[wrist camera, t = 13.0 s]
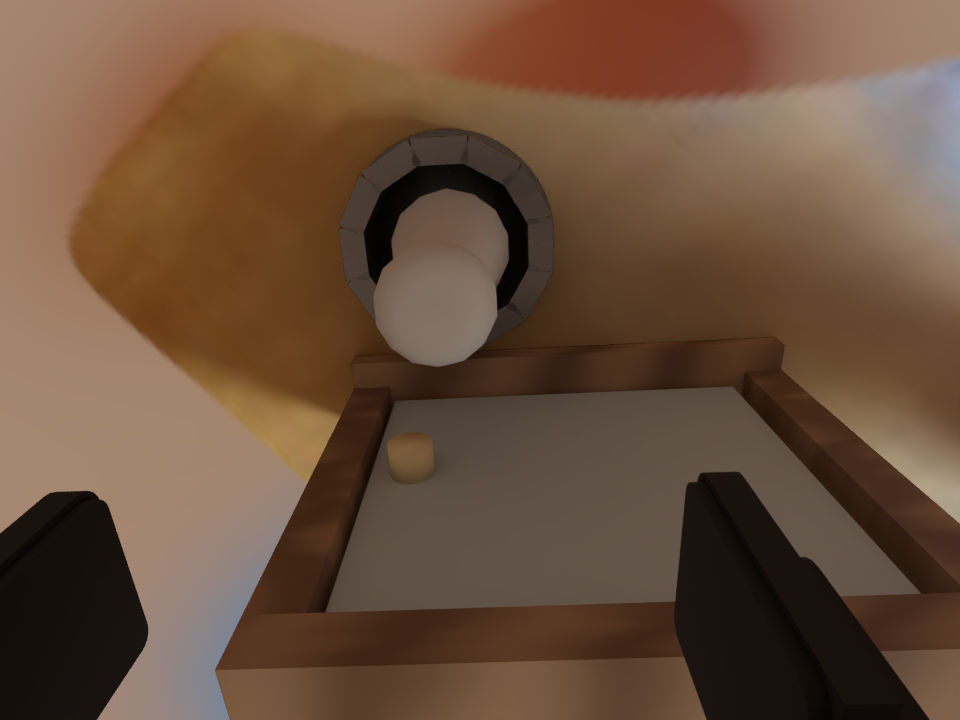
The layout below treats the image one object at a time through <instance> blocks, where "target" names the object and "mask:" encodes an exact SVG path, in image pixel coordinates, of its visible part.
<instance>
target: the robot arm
mask: <svg viewBox="0 0 960 720" xmlns="http://www.w3.org/2000/svg"><path fill="white" fill-rule="evenodd" d="M674 623H675V630H676V634H677V638H678V641H679V644H680V647H681V650H682V652H683V655H684V658H685V661H686V664H687V666H688V669H689V672H690V675H691V678H692V680H693V683H694V686H695V689H696V692H697V694H698V697H699V700H700V703H701V706H702V709H703V711H704V714H705V717H706V720H930V719H929V718H928V716H927V715H926V714H925V712H924V711H923V710H922V708H921V707H920V705H919V704H918V703H917V701H916V700H915V699H914V697H913V696H912V694H911V693H910V692H909V690H908V689H907V688H906V686H905V685H904V684H903V682H902V681H901V679H900V678H899V677H898V675H897V674H896V673H895V671H894V670H893V668H892V667H891V666H890V664H889V663H888V662H887V660H886V659H885V657H884V656H883V655H882V653H881V652H880V651H879V649H878V648H877V646H876V645H875V644H874V642H873V641H872V640H871V638H870V637H869V635H868V634H867V633H866V631H865V630H864V629H863V627H862V626H861V624H860V623H859V622H858V620H857V619H856V618H855V616H854V615H853V613H852V612H851V611H850V609H849V608H848V607H847V605H846V604H845V602H844V601H843V600H842V598H841V597H840V596H839V594H838V593H837V591H836V590H835V589H834V587H833V586H832V585H831V583H830V582H829V580H828V579H827V578H826V576H825V575H824V574H823V572H822V571H821V570H820V568H819V567H818V566H817V565H816V564H815V563H814V562H813V561H812V560H811V559H809V558H807V557H800V556H799V555H798V553H797V552H796V550H795V549H794V548H793V546H792V545H791V543H790V542H789V540H788V539H787V538H786V536H785V535H784V533H783V532H782V530H781V529H780V528H779V526H778V525H777V523H776V522H775V520H774V519H773V518H772V516H771V515H770V513H769V512H768V511H767V509H766V508H765V506H764V505H763V503H762V502H761V501H760V499H759V498H758V496H757V495H756V493H755V492H754V491H753V489H752V488H751V486H750V485H749V483H748V482H747V481H746V479H745V478H744V476H743V475H742V474H741V473H740V472H703V473H701V474H699V477H698V480H697V482H689V483H688V484H687V486H686V492H685V503H684V514H683V524H682V535H681V545H680V556H679V567H678V577H677V588H676V599H675V609H674ZM147 637H148V624H147V621H146V618H145V615H144V612H143V609H142V606H141V603H140V600H139V597H138V594H137V591H136V588H135V585H134V582H133V579H132V576H131V573H130V570H129V567H128V564H127V561H126V558H125V555H124V552H123V549H122V546H121V543H120V540H119V537H118V534H117V532H116V528H115V525H114V522H113V519H112V516H111V513H110V510H109V507H108V505H107V504H106V503H105V502H104V501H103V500H99V498H98V496H97V495H96V494H94V493H93V492H90V491H71V492H54V493H49V494H48V495H46V496H45V497H43V498H42V499H41V500H40V501H39V502H37V503H36V504H35V505H34V506H33V507H31V508H30V509H29V510H28V511H27V512H26V513H24V514H23V515H22V516H21V517H20V518H18V519H17V520H16V521H15V522H13V523H12V524H11V525H10V526H9V527H8V528H6V529H5V530H4V531H3V532H2V533H0V720H97V719H98V717H99V715H100V714H101V712H102V711H103V709H104V708H105V706H106V705H107V703H108V702H109V700H110V699H111V697H112V696H113V694H114V693H115V691H116V690H117V688H118V687H119V685H120V684H121V682H122V681H123V679H124V678H125V676H126V675H127V673H128V672H129V670H130V669H131V667H132V665H133V664H134V662H135V661H136V659H137V658H138V656H139V655H140V653H141V652H142V650H143V648H144V647H145V644H146V641H147Z"/></svg>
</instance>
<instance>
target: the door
mask: <svg viewBox="0 0 960 720" xmlns="http://www.w3.org/2000/svg"><path fill="white" fill-rule="evenodd" d="M703 472H740V473H741V474H742V475H743V476H744V478H745V479H746V481H747V482H748V483H749V485H750V486H751V488H752V489H753V491H754V492H755V493H756V495H757V496H758V498H759V499H760V501H761V502H762V503H763V505H764V506H765V508H766V509H767V511H768V512H769V513H770V515H771V516H772V518H773V519H774V520H775V522H776V523H777V525H778V526H779V528H780V529H781V530H782V532H783V533H784V535H785V536H786V538H787V539H788V540H789V542H790V543H791V545H792V546H793V548H794V549H795V550H796V552H797V553H798V555H799V556H800V557H807V558H809V559H811V560H812V561H813V562H814V563H815V564H816V565H817V566H818V567H819V568H820V570H821V571H822V572H823V574H824V575H825V576H826V578H827V579H828V580H829V582H830V583H831V585H832V586H833V587H834V589H835V590H836V591H837V593H838V594H839V596H866V595H898V594H921V593H920V592H919V591H918V590H917V589H916V587H915V586H914V585H913V584H912V583H911V582H910V581H909V580H908V579H907V578H906V576H905V575H904V574H903V573H902V572H901V571H900V570H899V569H898V568H897V567H896V565H895V564H894V563H893V562H892V561H891V560H890V559H889V558H888V557H887V556H886V554H885V553H884V552H883V551H882V550H881V549H880V548H879V547H878V546H877V545H876V543H875V542H874V541H873V540H872V539H871V538H870V537H869V536H868V535H867V534H866V532H865V531H864V530H863V529H862V528H861V527H860V526H859V525H858V524H857V523H856V522H855V520H854V519H853V518H852V517H851V516H850V515H849V514H848V513H847V512H846V511H845V509H844V508H843V507H842V506H841V505H840V504H839V503H838V502H837V501H836V500H835V498H834V497H833V496H832V495H831V494H830V493H829V492H828V491H827V490H826V489H825V487H824V486H823V485H822V484H821V483H820V482H819V481H818V480H817V479H816V478H815V476H814V475H813V474H812V473H811V472H810V471H809V470H808V469H807V468H806V467H805V465H804V464H803V463H802V462H801V461H800V460H799V459H798V458H797V457H796V456H795V454H794V453H793V452H792V451H791V450H790V449H789V448H788V447H787V446H786V445H785V443H784V442H783V441H782V440H781V439H780V438H779V437H778V436H777V435H776V434H775V432H774V431H773V430H772V429H771V428H770V427H769V426H768V425H767V424H766V423H765V422H764V420H763V419H762V418H761V417H760V416H759V415H758V414H757V413H756V412H755V411H754V409H753V408H752V407H751V406H750V405H749V404H748V403H747V402H746V401H745V400H744V398H743V397H742V396H741V395H740V394H739V393H738V392H737V391H736V390H735V389H734V387H733V386H732V387H709V388H685V389H662V390H639V391H615V392H592V393H569V394H545V395H522V396H499V397H476V398H452V399H429V400H406V401H395V403H394V406H393V409H392V412H391V415H390V418H389V421H388V424H387V427H386V430H385V433H384V436H383V440H382V443H381V446H380V449H379V452H378V455H377V458H376V461H375V464H374V467H373V470H372V473H371V476H370V479H369V482H368V485H367V488H366V491H365V494H364V497H363V500H362V503H361V506H360V509H359V512H358V515H357V518H356V521H355V524H354V527H353V530H352V533H351V537H350V540H349V543H348V546H347V549H346V552H345V555H344V558H343V561H342V564H341V567H340V570H339V573H338V576H337V579H336V582H335V585H334V588H333V591H332V594H331V597H330V600H329V603H328V606H327V609H326V612H325V613H327V612H359V611H390V610H422V609H454V608H486V607H517V606H549V605H581V604H613V603H644V602H675V599H676V588H677V577H678V567H679V556H680V545H681V535H682V524H683V514H684V503H685V492H686V486H687V484H688V483H689V482H697V480H698V477H699V474H701V473H703Z"/></svg>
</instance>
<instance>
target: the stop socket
mask: <svg viewBox="0 0 960 720" xmlns="http://www.w3.org/2000/svg"><path fill="white" fill-rule="evenodd" d="M362 173H363V174H361V175H359V177H358V180H357V182H356V185H355V187H354V190H353V192H352V194H351V197H350V199H349V202H348V204H347V206H346V209H345V211H344V214H343V216H342V219H341V221H340V223H339V225H340V226H341V227H340V228H339V229H338V230H339V237H340V244H341V251H342V258H343V265H344V272H345V279H346V281H349V283H348V284H347V285H348V286H349V287H350V289H351V290H352V291H353V293H354V294H355V295H356V297H357V298H358V299H359V301H360V302H361V303H362V305H363V306H364V307H365V309H366V310H367V311H368V313H369V314H370V315H371V317H372V318H373V319H374V321H375V322H376V318H375V309H374V292H375V289H376V286H377V283H378V281H379V278H380V275H381V272H382V269H383V268H384V267H385V266H386V265H387V264H389V263H390V262H391V261H392V260H393V253H392V241H391V240H392V237H393V234H394V231H395V228H396V225H397V222H398V219H399V216H400V214H401V213H402V212H404V211H405V210H406V209H407V208H408V207H409V206H410V205H411V204H413V203H414V202H415V201H416V200H417V199H418V198H419V197H421V196H424V195H427V194H430V193H433V192H437V191H440V190H443V189H451V190H456V191H460V192H465V193H470V194H474V195H475V196H477V197H478V198H479V199H481V200H482V201H484V202H485V203H486V204H488V205H489V206H491V207H492V208H493V209H495V210H496V212H497V214H498V216H499V218H500V220H501V222H502V224H503V226H504V228H505V230H506V232H507V234H508V251H509V262H508V264H507V266H506V268H505V270H504V273H503V275H502V277H501V279H500V282H499V284H498V285H497V286H496V296H497V318H496V320H495V322H494V324H493V326H492V329H491V331H490V333H489V335H488V337H487V339H486V341H485V343H484V344H483V345H482V346H484V345H486V344H487V343H489V342H491V341H492V340H494V339H496V338H497V337H499V336H501V335H502V334H504V333H506V332H507V331H509V330H511V329H512V328H514V327H516V326H517V325H519V324H520V323H522V322H524V321H525V319H524V317H525V318H528V316H529V314H530V313H531V311H532V309H533V307H534V306H535V304H536V302H537V300H538V298H539V297H540V295H541V293H542V291H543V290H544V288H545V286H546V284H547V283H548V281H549V279H550V277H551V275H552V272H551V271H553V242H554V229H553V217H552V214H551V210H550V206H549V203H548V200H547V197H546V194H545V192H544V190H543V188H542V186H541V184H540V183H539V181H538V179H537V178H536V176H535V175H534V174H533V172H532V171H531V169H530V168H529V167H528V166H527V165H526V164H525V163H524V162H523V160H522V159H521V158H520V157H518V156H517V155H516V154H515V153H514V152H512V151H511V150H510V149H509V148H507V147H505V146H504V145H502V144H501V143H499V142H497V141H495V140H493V139H491V138H489V137H487V136H484V135H481V134H477V133H474V132H471V131H464V130H458V129H440V130H432V131H426V132H423V133H419V134H416V135H413V136H410V137H408V138H406V139H403V140H401V141H399V142H398V143H396V144H394V145H393V146H391V147H390V148H388V149H387V150H386V151H384V152H383V153H382V154H381V155H380V156H378V157H377V158H376V160H375V161H374V162H373V163H372V164H371V165H370V166H369V167H368V168H367V169H366V170H364V171H363V172H362Z"/></svg>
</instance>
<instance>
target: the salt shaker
mask: <svg viewBox="0 0 960 720" xmlns="http://www.w3.org/2000/svg"><path fill="white" fill-rule="evenodd" d="M391 241H392V253H393V260H392V261H391V262H390V263H389V264H387V265H386V266H385V267H384V268H383V269H382V272H381V275H380V278H379V281H378V283H377V286H376V289H375V292H374V309H375V318H376V326H377V328H378V329H379V331H380V332H381V334H382V336H383V337H384V339H385V340H386V342H387V343H388V345H389V346H390V348H391V349H393V350H394V351H396V352H397V353H399V354H400V355H402V356H403V357H405V358H406V359H408V360H409V361H411V362H412V363H417V364H423V365H430V366H436V367H441V366H445V365H449V364H453V363H457V362H461V361H464V360H466V359H467V358H468V357H469V356H470V355H471V354H473V353H474V352H475V351H476V350H477V349H479V348H480V347H481V346H482V345H483V344H484V343H485V341H486V339H487V337H488V335H489V333H490V331H491V329H492V326H493V324H494V322H495V320H496V318H497V296H496V286H497V285H498V284H499V282H500V279H501V277H502V275H503V273H504V270H505V268H506V266H507V264H508V262H509V251H508V234H507V232H506V230H505V228H504V226H503V224H502V222H501V220H500V218H499V216H498V214H497V212H496V210H495V209H493V208H492V207H491V206H489V205H488V204H486V203H485V202H484V201H482V200H481V199H479V198H478V197H477V196H475V195H474V194H470V193H465V192H460V191H456V190H451V189H443V190H440V191H437V192H433V193H430V194H427V195H424V196H421V197H419V198H418V199H417V200H416V201H415V202H414V203H413V204H411V205H410V206H409V207H408V208H407V209H406V210H405V211H404V212H402V213H401V214H400V216H399V219H398V222H397V225H396V228H395V231H394V234H393V237H392V240H391Z"/></svg>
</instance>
